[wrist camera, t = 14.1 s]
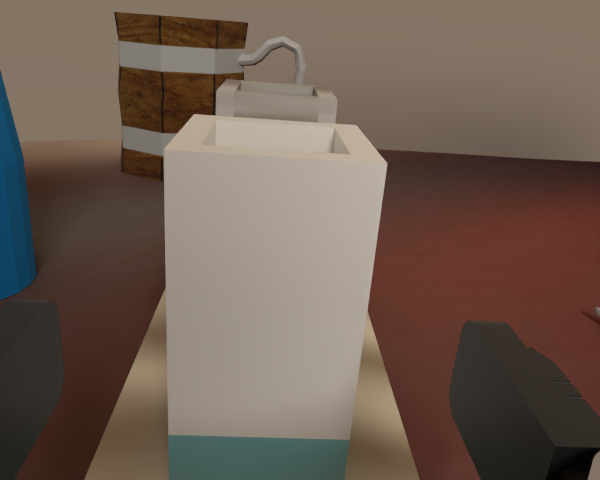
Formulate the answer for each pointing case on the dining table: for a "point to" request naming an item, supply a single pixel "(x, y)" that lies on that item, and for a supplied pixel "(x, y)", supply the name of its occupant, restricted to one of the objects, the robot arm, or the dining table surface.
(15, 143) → the bottle
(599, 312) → the pliers
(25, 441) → the robot arm
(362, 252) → the sleeve
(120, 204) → the dining table surface
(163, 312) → the peg socket fixture
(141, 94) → the mug
